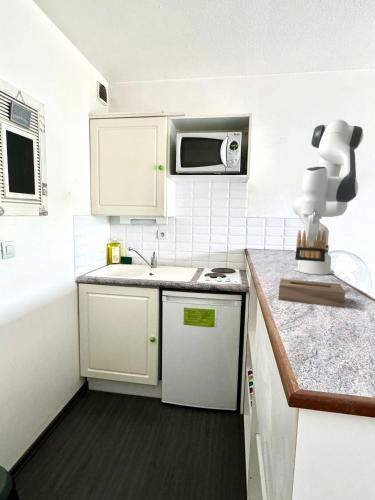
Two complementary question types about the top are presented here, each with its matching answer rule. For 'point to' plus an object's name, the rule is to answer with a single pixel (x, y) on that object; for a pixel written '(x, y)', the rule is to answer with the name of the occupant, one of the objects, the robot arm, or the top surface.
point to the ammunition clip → (311, 248)
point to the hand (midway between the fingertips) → (310, 245)
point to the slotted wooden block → (312, 292)
